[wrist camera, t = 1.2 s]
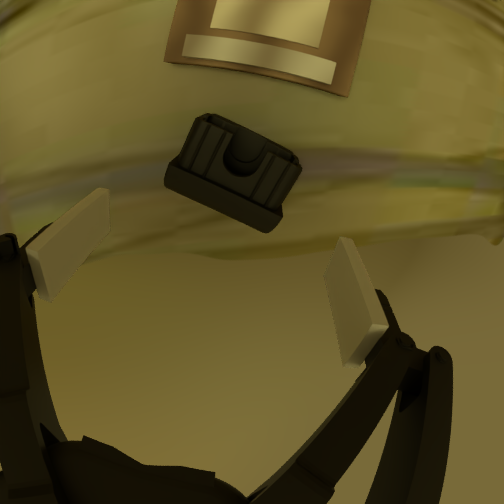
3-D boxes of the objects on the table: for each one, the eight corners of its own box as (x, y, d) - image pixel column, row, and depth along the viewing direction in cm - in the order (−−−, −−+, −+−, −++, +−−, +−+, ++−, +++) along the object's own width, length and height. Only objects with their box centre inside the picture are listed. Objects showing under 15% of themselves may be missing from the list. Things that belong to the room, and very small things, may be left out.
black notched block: (178, 172, 28) (155, 196, 22) (206, 109, 25) (188, 116, 19) (265, 213, 30) (264, 247, 24) (299, 155, 27) (309, 176, 21)
